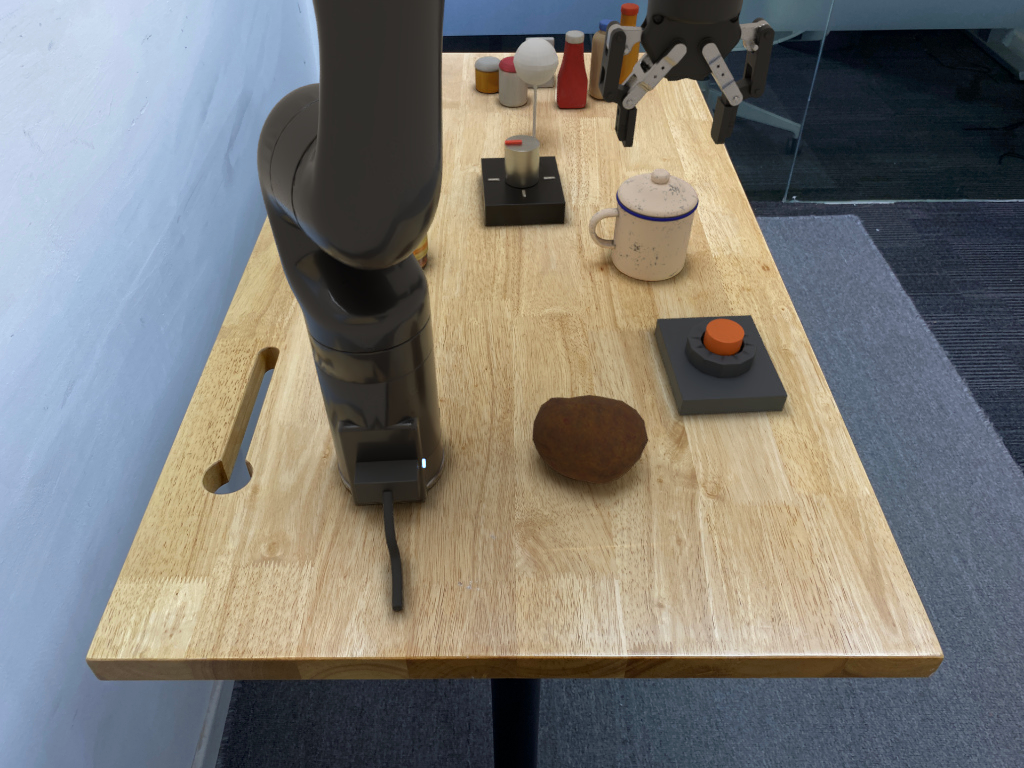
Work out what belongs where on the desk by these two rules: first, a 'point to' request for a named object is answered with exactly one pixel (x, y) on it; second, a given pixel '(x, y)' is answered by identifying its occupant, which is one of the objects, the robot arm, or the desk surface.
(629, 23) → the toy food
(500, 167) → the stove panel
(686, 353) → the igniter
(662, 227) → the teacup with lid
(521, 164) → the stove knob
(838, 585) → the desk surface
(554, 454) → the potato
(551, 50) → the lollipop
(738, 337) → the button
